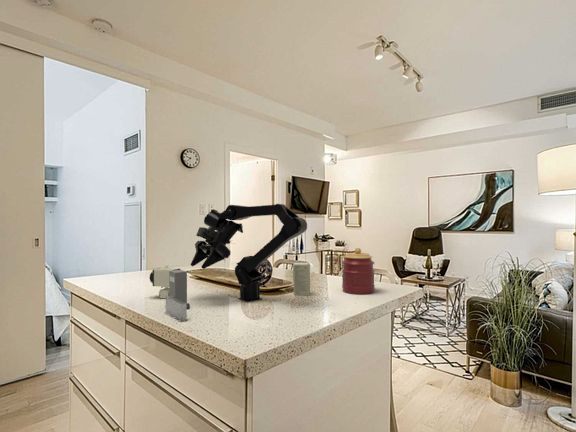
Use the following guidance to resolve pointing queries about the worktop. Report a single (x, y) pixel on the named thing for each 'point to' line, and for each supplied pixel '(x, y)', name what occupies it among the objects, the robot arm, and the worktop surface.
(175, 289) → the block
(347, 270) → the canister
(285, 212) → the robot arm
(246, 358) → the worktop surface
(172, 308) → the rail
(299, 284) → the skincare box
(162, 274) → the pneumatic valve
